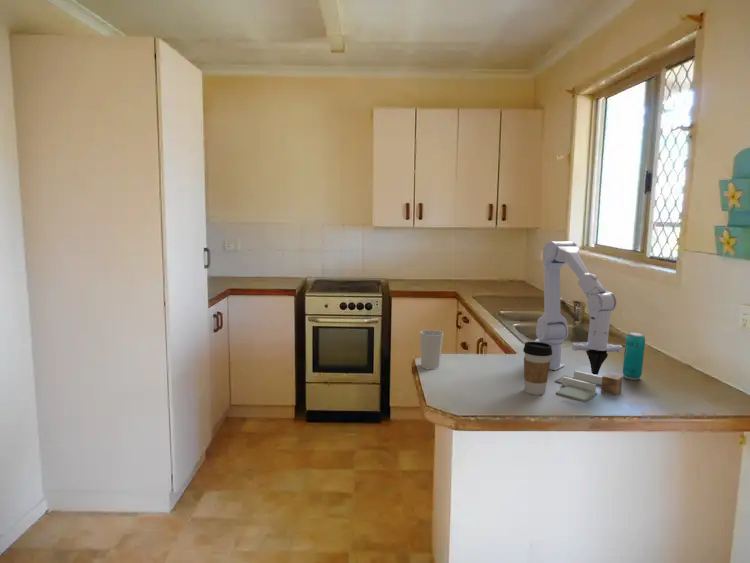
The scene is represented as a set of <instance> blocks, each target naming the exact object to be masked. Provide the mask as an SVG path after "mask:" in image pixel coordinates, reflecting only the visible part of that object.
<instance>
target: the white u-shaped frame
mask: <svg viewBox="0 0 750 563" xmlns="http://www.w3.org/2000/svg"><path fill="white" fill-rule="evenodd" d="M602 376H603V375H602ZM602 376H601V375H599V374H598V375H595V374H593V373H589V372H584V371H579V370H574V372H573V376H569V375H562V376H561V377H559V378H557V379H556V380H554V383H559V384H561V385H562V386H564V387H566V386H567V385H570V386H574V387H578V388H582V389H586V390H590V391H594V392H597V391H596V390H597V385H599V386H602Z"/></svg>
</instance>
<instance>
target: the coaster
mask: <svg viewBox="0 0 750 563" xmlns="http://www.w3.org/2000/svg"><path fill="white" fill-rule="evenodd" d="M555 395H557V396H562V397H565V398H569V399H573V400H577V401H580V402H585V403H587V402H588V401H589V400H591V399H592V398H594V397H596V396H597V395H598V392H597V391H596V392H594V391H590V390H586V389H582V388H578V387H574V386H570V385H567V386H564V387H562V388H560V389H559V390H556V391H555Z"/></svg>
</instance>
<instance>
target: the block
mask: <svg viewBox="0 0 750 563" xmlns="http://www.w3.org/2000/svg"><path fill="white" fill-rule="evenodd" d="M623 376H624V375H617V374H614V373H610V372H607V373H605V374H603V375H602V385H600V386H601V388H600V392H601V393H604V394H609V395H613V396H617V395H619V394H621V392H622V386H623V378H624V377H623Z"/></svg>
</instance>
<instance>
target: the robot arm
mask: <svg viewBox="0 0 750 563" xmlns="http://www.w3.org/2000/svg"><path fill="white" fill-rule="evenodd" d="M542 264H543V295H544V296H543V302H544V303H543V304H544V308H543V310H544V313H543V314H542V315H541V316H540V317H539V318H538V319H537V323H536V324H537V325H536V328H535V335H536V337H537V338H536V339H535V340H534V341H533V342H541V343H546V344H549V345H551V347H552V355H551V356H550V367H549V370H552V371H557V370H559V369H561V368H563V367H565V366H566V365H565V364H564V363H561V360H562V350H563V349H562V348H563V343H565V340H566V339H567V338H568V336H569V328H568V324H567V323H568V322H567V318H566V317H564V315H562V314H561V269H562V267H563V266H565V265H566V264H567V265H568V266H569V268H570V269H571V270H572V271H573V273H574V274H575V276H576V277H577V278H578V281H577V283H578V284H577V285H578V286H579V288H580V289H581V291H582V293H583V294H584V296H585V297H586V298H587V299H586V306H587V308H588V316H589V322H588V323H589V325H588V335H587V342H576V343H575V342H572V346H571V347H572V348H571V349H572V350H573V351H574V352H578V351H584V352H586V355H587V357H588V360H589V364H590V368H591V369H590V372H591V374H593V375H598V376H599V372H600V369H601V367H602V365H603V364H604V362H605V361H606V359H607V358H608V356H609V354H608V353H607V352H611V353H618V354H622V353H623V346H622V345H621V344H611V343H608V342H609V334H610V333H609V332H610V324H611V316H612V315H611V313H612V311H613V310H614V309H615V308H616V306H617V298H616V296H615V294H614V293H613V292H611V291H608V290H606V289H605V288H604V286H603V285H602V283H601V282H600V281H599V279H598V276H597V275H596V274H594V273H590V272H589V271H588V268H587V267H586V265H585V263H584V262H583V260H582V258H581V256H580V248H579V247H578V245H577V242H575V241H573V240H570V241H554V240H549V241H547V242H546V243H545V245H544V246H543V247H542Z"/></svg>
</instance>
